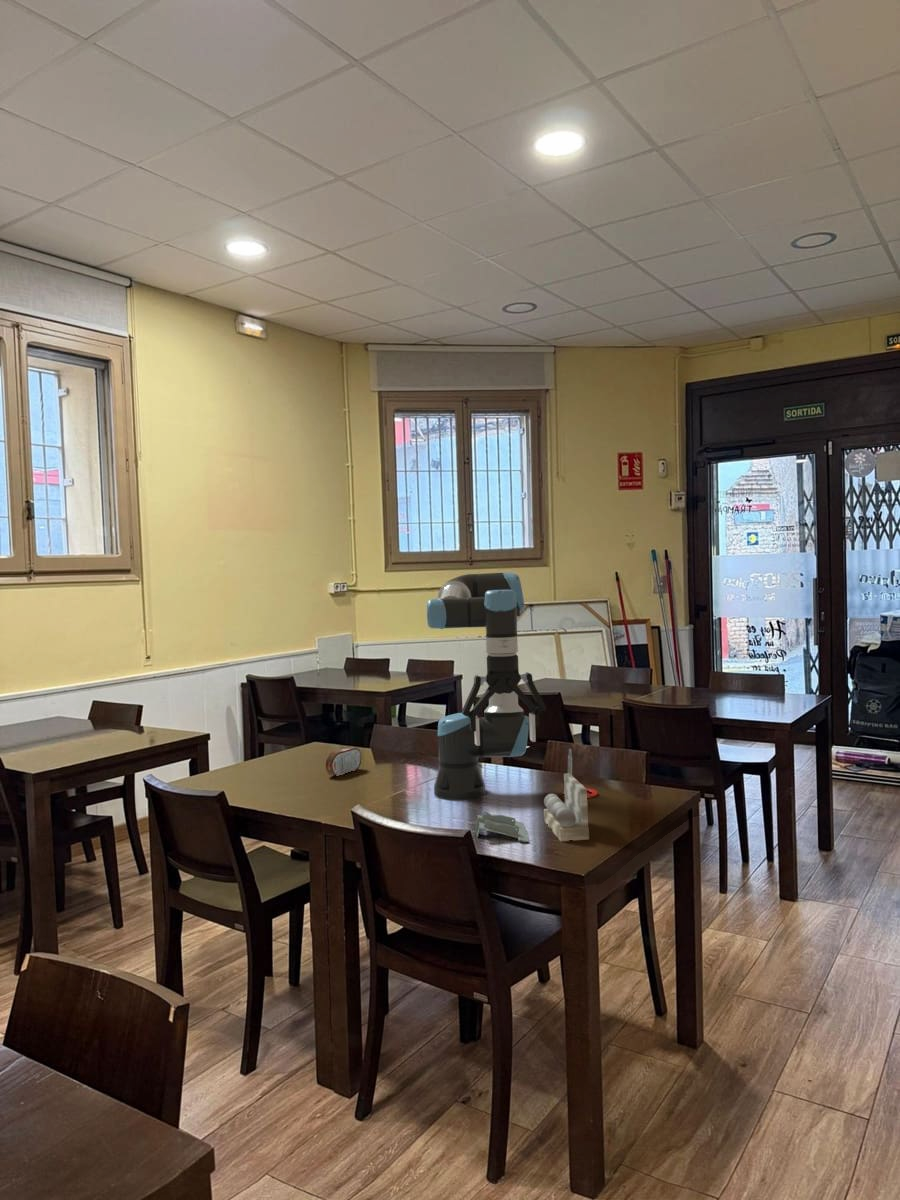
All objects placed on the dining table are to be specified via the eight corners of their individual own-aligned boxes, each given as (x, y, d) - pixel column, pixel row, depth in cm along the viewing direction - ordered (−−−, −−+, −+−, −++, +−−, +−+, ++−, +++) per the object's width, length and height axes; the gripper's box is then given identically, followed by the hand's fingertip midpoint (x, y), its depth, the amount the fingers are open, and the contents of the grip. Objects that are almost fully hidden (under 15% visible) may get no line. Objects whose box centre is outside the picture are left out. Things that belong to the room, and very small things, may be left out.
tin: (356, 768, 278) (355, 743, 278) (363, 769, 276) (362, 744, 276) (325, 778, 266) (324, 752, 266) (332, 779, 264) (331, 753, 264)
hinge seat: (544, 820, 213) (542, 774, 213) (570, 818, 214) (569, 772, 214) (560, 841, 196) (558, 791, 196) (589, 839, 197) (587, 789, 197)
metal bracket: (479, 822, 195) (475, 804, 210) (473, 846, 195) (470, 826, 210) (537, 836, 196) (529, 818, 211) (531, 860, 196) (523, 839, 211)
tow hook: (602, 795, 237) (575, 789, 243) (603, 751, 236) (575, 746, 242) (587, 802, 230) (559, 795, 236) (588, 757, 229) (559, 751, 235)
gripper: (453, 658, 190) (456, 749, 191) (557, 653, 194) (560, 742, 195) (448, 655, 198) (451, 742, 199) (548, 650, 201) (551, 736, 202)
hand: (505, 742), depth 197 cm, fingers open, 13 cm apart
